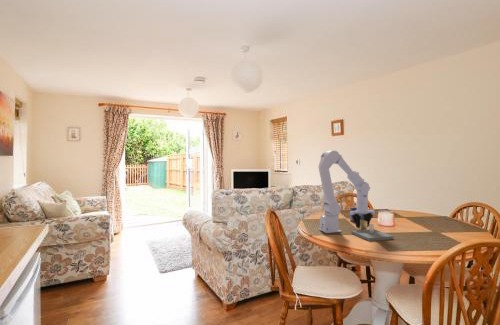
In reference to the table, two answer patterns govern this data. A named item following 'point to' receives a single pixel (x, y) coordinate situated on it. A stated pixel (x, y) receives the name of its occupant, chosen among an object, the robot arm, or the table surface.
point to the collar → (363, 225)
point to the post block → (372, 234)
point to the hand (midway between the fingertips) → (362, 227)
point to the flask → (359, 214)
